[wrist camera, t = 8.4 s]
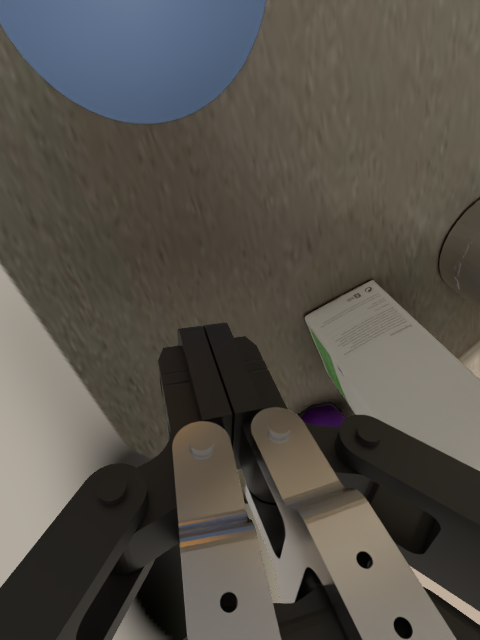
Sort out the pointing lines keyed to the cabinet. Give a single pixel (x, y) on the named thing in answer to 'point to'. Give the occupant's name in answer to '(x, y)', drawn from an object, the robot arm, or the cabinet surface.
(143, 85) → the disc
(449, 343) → the cabinet surface
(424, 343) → the skincare box
